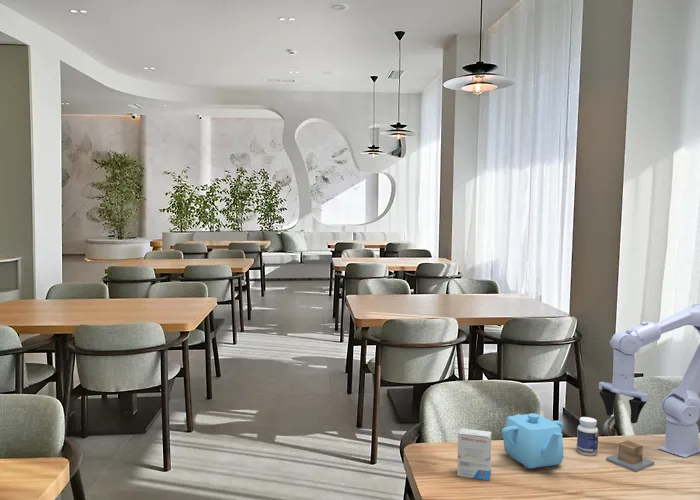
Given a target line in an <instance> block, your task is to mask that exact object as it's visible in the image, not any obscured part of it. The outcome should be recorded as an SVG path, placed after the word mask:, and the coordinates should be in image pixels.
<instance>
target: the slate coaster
mask: <svg viewBox="0 0 700 500" xmlns="http://www.w3.org/2000/svg"><path fill="white" fill-rule="evenodd" d="M605 461H607V462H609V463H612V464H614V465H617V466H620V467H622V468H624V467H625V469H627V470H630V471H632V472H634V471H635V473H637V472H640V471H641V470H645V469H647V468H650V467H651V466H655V461H653V460H651V459H648V458H645V457H643V456H642V461H641V462H638V463H635V464H630V463H628V462H625V461H623V460H620V459H618V452H617V453H615V454H613V455H610V456H607V457H606V458H605ZM649 466H650V467H649ZM646 467H647V468H646ZM644 468H645V469H644Z"/></svg>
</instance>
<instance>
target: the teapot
mask: <svg viewBox="0 0 700 500" xmlns="http://www.w3.org/2000/svg"><path fill="white" fill-rule="evenodd" d="M564 425H565V424H564V422H563V421H562V420H561V421H560V420H550V419H549V418H546V417H544V416H542V415H540V414H538V413H535V412H534V413H533V412H532V413H526V414H519V413H518V414H517V413H516V414H515V415H509V416H507V418H506V422H505V427H503V428H502V429H501V435H502V437H503V448H504V452H505V453H506V454H507V455H509V456H510V457H511V459H513V460H516V461H517V462H519V463H520V464H522V465H524V468H525V469H527V470H528V469H529V470H534V469H536V468H541V467H542V468H543V467H553V466H555V465H560V464H562V462H563V459H564V439H563V435H564V434H563V433H562V432H563V430H564Z"/></svg>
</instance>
